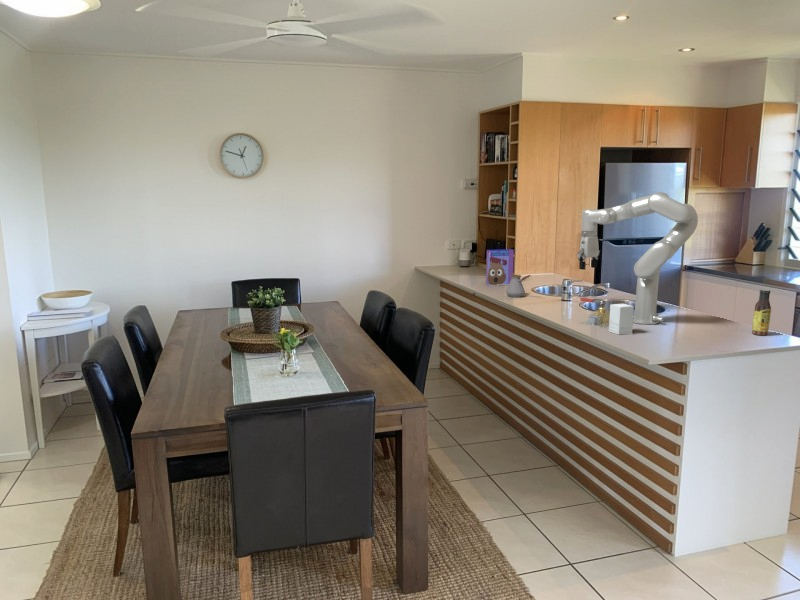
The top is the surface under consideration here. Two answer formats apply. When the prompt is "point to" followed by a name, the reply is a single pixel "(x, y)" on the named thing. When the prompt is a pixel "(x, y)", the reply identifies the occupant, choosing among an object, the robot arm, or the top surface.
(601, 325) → the valve
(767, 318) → the sauce bottle
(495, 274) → the cereal box
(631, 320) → the supplement box
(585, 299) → the lever
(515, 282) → the coffee pot
